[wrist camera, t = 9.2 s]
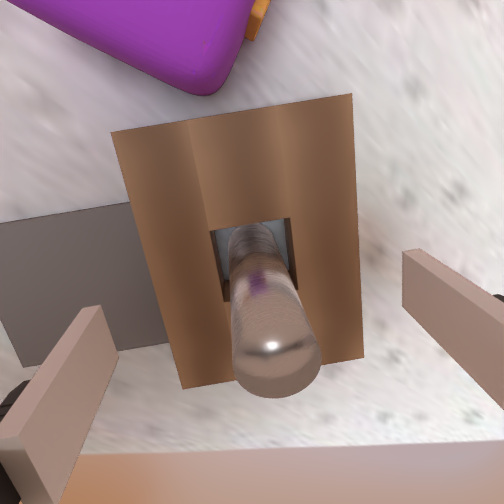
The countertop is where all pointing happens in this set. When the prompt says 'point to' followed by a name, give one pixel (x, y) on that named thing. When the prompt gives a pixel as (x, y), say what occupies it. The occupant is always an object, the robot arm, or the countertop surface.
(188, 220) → the socket block
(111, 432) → the countertop surface
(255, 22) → the toy camera
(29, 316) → the mat
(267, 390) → the peg
